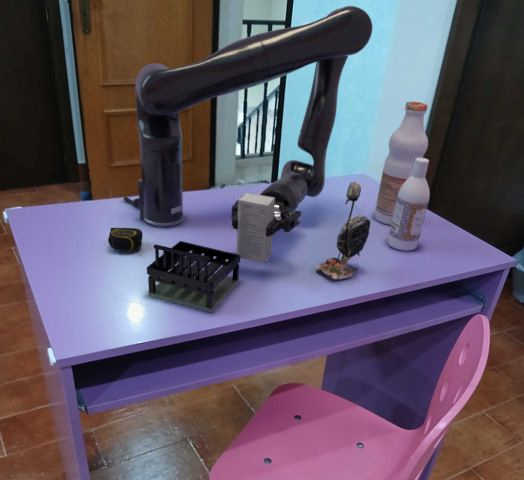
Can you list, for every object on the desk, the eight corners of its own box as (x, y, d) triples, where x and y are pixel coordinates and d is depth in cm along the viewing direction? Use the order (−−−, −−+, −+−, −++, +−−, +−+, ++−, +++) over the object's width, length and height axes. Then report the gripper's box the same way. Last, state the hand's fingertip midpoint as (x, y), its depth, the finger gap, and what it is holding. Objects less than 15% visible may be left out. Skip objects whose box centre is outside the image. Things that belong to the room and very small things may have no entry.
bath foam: (402, 253, 127) (423, 166, 115) (381, 242, 132) (399, 156, 120) (423, 248, 130) (445, 162, 119) (401, 237, 135) (421, 153, 123)
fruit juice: (375, 210, 149) (398, 97, 132) (411, 216, 147) (438, 102, 131) (371, 222, 141) (394, 104, 125) (408, 229, 139) (437, 110, 123)
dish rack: (148, 296, 104) (145, 245, 98) (180, 267, 114) (179, 220, 108) (211, 313, 100) (212, 261, 95) (239, 282, 111) (241, 234, 105)
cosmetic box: (271, 255, 113) (276, 197, 106) (264, 264, 110) (269, 205, 103) (242, 248, 114) (246, 191, 107) (234, 257, 111) (237, 198, 104)
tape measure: (143, 241, 123) (142, 225, 120) (140, 255, 117) (139, 239, 115) (111, 240, 122) (110, 224, 120) (107, 254, 116) (105, 238, 114)
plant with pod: (373, 274, 118) (393, 181, 106) (329, 284, 113) (345, 187, 101) (350, 258, 123) (367, 168, 112) (307, 266, 118) (320, 173, 107)
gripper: (250, 176, 119) (217, 201, 106) (314, 189, 115) (288, 217, 102) (247, 210, 123) (216, 238, 110) (309, 223, 119) (284, 254, 107)
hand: (251, 228), depth 106 cm, fingers closed on cosmetic box, 6 cm apart
